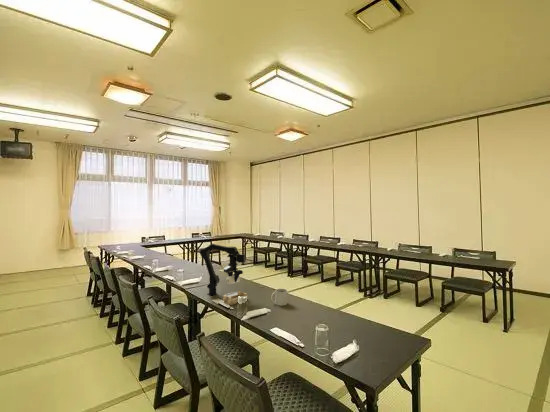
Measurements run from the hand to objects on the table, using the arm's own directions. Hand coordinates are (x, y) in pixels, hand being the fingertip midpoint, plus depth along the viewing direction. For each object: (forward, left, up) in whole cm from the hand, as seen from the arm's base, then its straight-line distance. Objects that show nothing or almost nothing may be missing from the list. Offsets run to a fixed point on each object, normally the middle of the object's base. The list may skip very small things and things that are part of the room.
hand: (233, 281), depth 225 cm
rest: (0, 0, -12) cm, 12 cm away
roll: (0, 0, +2) cm, 2 cm away
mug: (+40, +14, -12) cm, 44 cm away
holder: (+11, -6, -12) cm, 17 cm away
